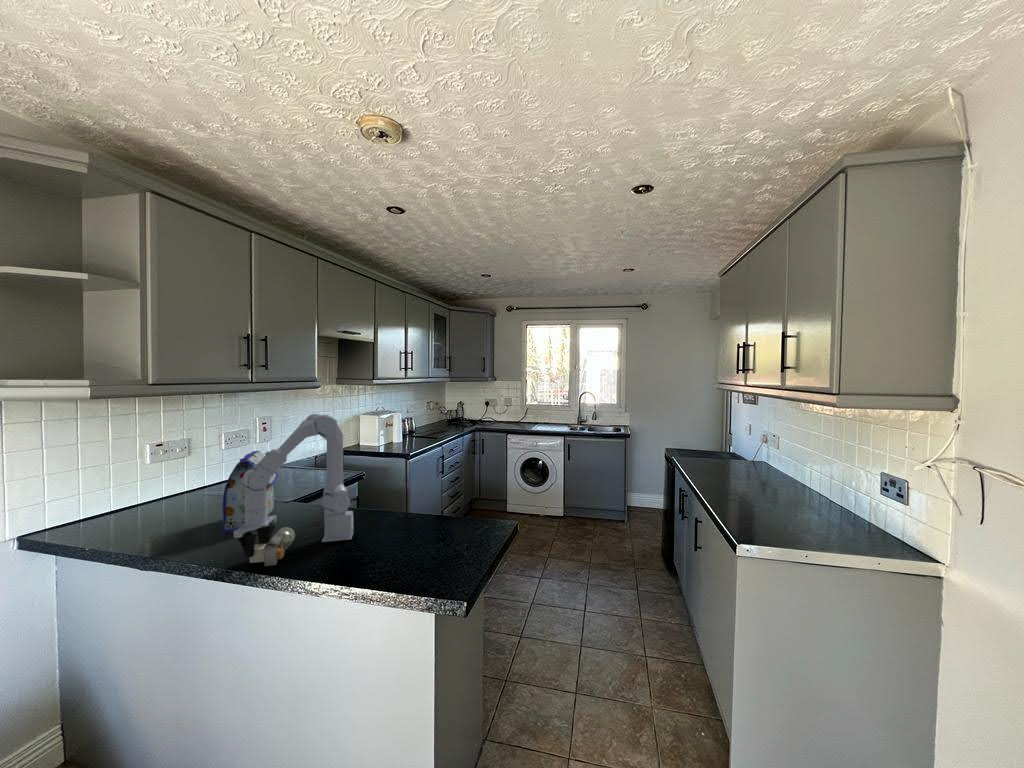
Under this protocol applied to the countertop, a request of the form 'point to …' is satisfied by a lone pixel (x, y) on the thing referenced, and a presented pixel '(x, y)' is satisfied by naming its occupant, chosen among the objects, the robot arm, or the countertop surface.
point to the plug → (259, 553)
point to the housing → (278, 545)
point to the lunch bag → (242, 493)
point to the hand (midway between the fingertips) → (256, 552)
